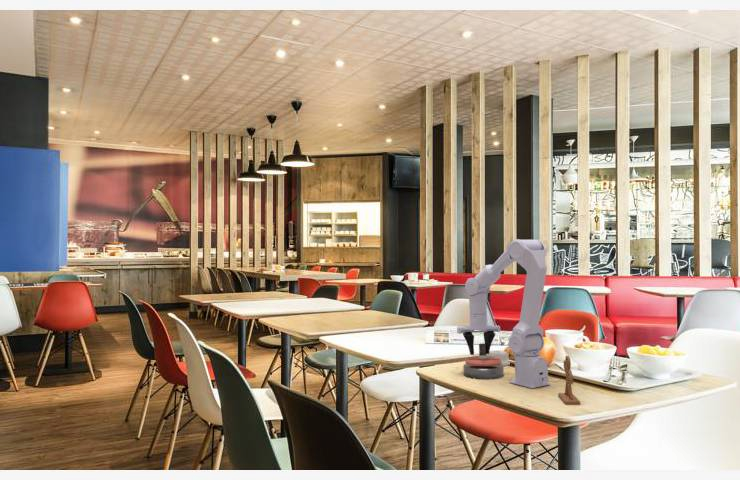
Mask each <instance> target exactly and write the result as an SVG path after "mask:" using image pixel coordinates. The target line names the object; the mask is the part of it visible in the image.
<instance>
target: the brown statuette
mask: <svg viewBox="0 0 740 480" xmlns="http://www.w3.org/2000/svg"><path fill="white" fill-rule="evenodd" d="M571 365H572V361H571V357H570V356H569V355H566V356H565V359H564V360H563V369H564V370H563V371H564V373H565V381H566V382H565V390H564V392H558V395H557V397H558V398H559V399H560V400H561V401H562V403H563V404H564V405H565V406H580V405H581V401H580V400H579V399H578V398H577V397H576V396H575V394H574V393H573V390H572V385H573V384H574V377H573V372H572V369H571Z"/></svg>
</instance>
